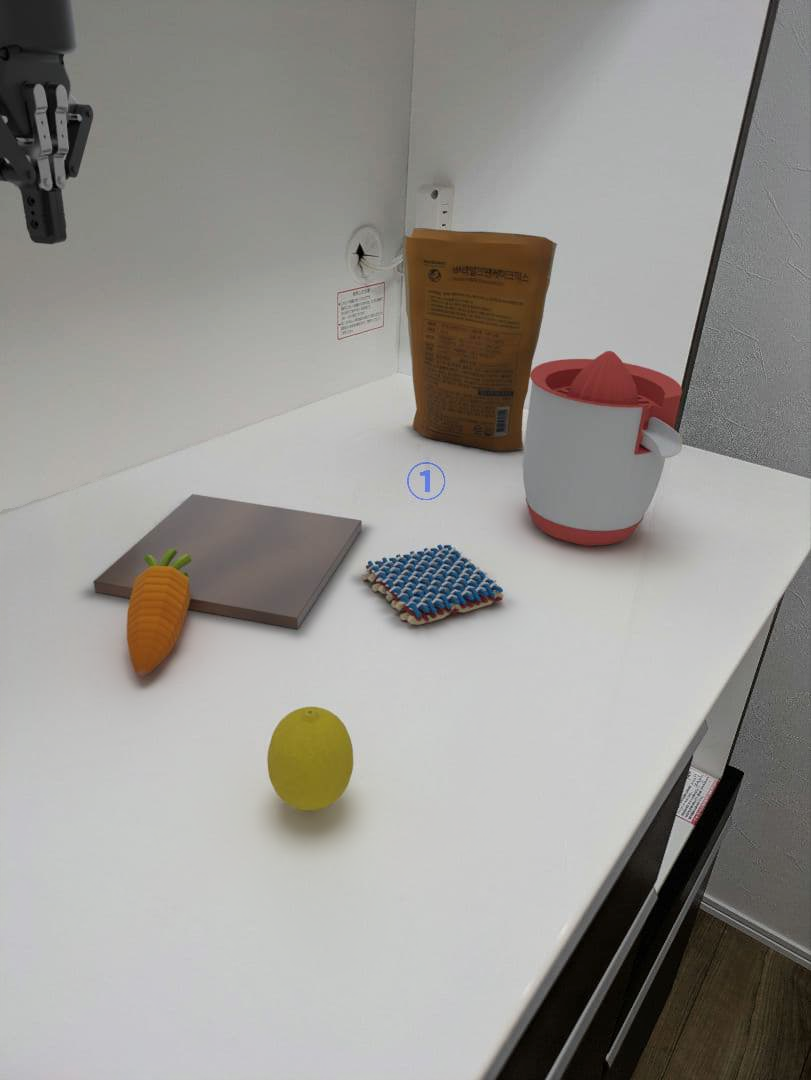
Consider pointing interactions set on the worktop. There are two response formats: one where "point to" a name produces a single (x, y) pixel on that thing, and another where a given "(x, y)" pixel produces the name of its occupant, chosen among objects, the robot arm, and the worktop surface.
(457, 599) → the woven mat
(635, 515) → the citrus juicer
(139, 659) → the carrot
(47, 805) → the worktop surface
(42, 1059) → the worktop surface
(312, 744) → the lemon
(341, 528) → the walnut board
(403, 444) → the worktop surface
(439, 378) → the pancake mix bag
